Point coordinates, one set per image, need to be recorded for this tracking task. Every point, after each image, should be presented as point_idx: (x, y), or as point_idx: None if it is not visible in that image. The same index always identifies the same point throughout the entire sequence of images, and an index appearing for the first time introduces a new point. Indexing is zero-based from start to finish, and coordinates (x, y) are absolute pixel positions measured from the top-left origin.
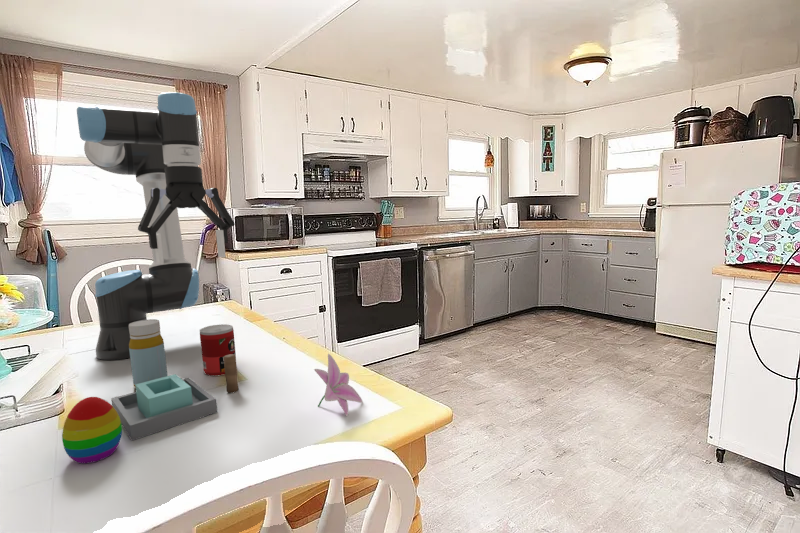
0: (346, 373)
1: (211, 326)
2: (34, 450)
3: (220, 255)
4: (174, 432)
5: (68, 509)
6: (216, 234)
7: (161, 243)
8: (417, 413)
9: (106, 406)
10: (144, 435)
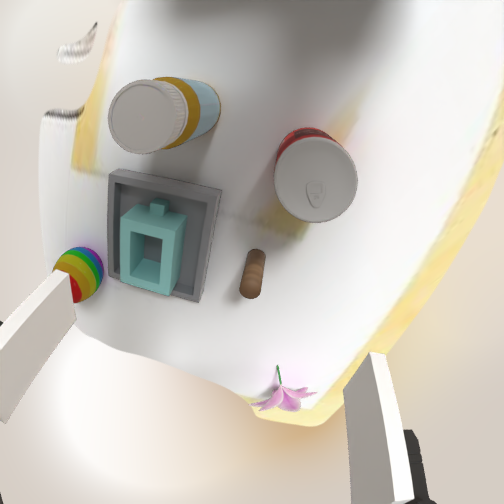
0: (314, 393)
1: (327, 146)
2: (53, 201)
3: (355, 382)
4: None
5: (75, 312)
6: (388, 474)
7: (28, 386)
8: (305, 418)
9: (75, 301)
10: None
